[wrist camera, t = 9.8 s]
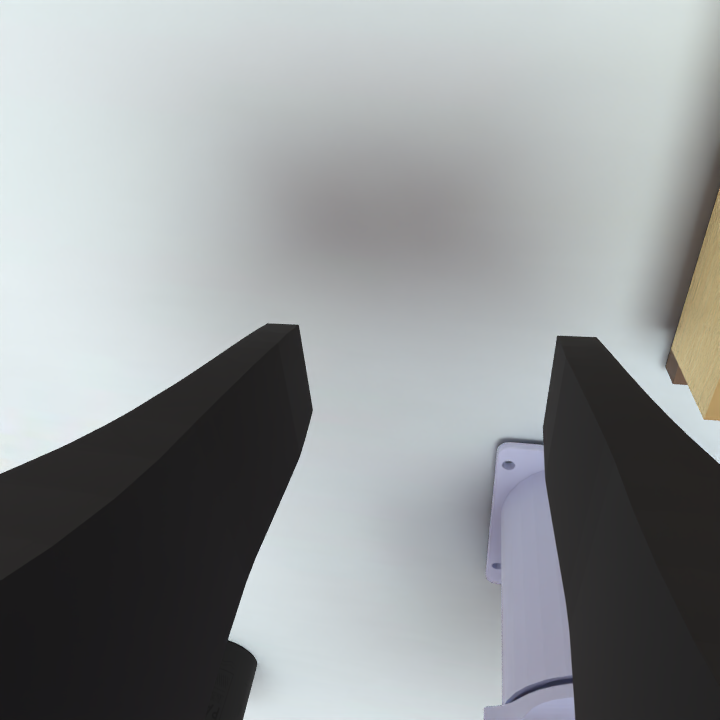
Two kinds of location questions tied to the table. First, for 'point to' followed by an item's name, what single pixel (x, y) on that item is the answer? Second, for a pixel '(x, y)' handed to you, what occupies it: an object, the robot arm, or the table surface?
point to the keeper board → (672, 363)
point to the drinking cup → (232, 684)
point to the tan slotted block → (703, 325)
